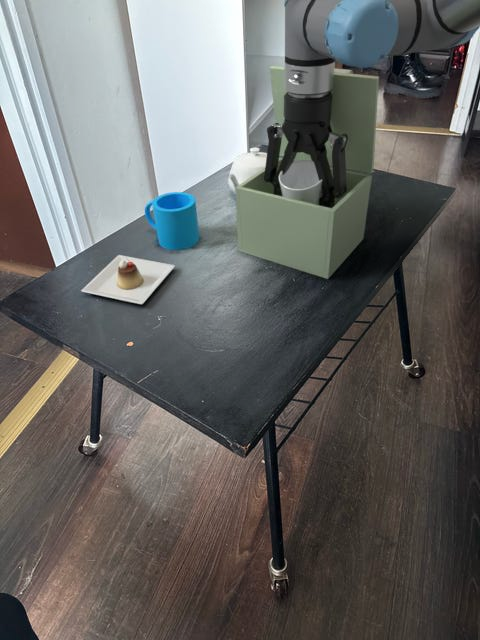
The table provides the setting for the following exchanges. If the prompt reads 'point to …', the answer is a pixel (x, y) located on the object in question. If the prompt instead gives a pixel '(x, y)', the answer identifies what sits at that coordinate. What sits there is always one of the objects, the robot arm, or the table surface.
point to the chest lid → (341, 115)
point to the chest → (301, 224)
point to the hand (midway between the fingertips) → (302, 224)
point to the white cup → (301, 182)
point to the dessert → (129, 279)
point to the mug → (174, 220)
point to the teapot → (246, 167)
